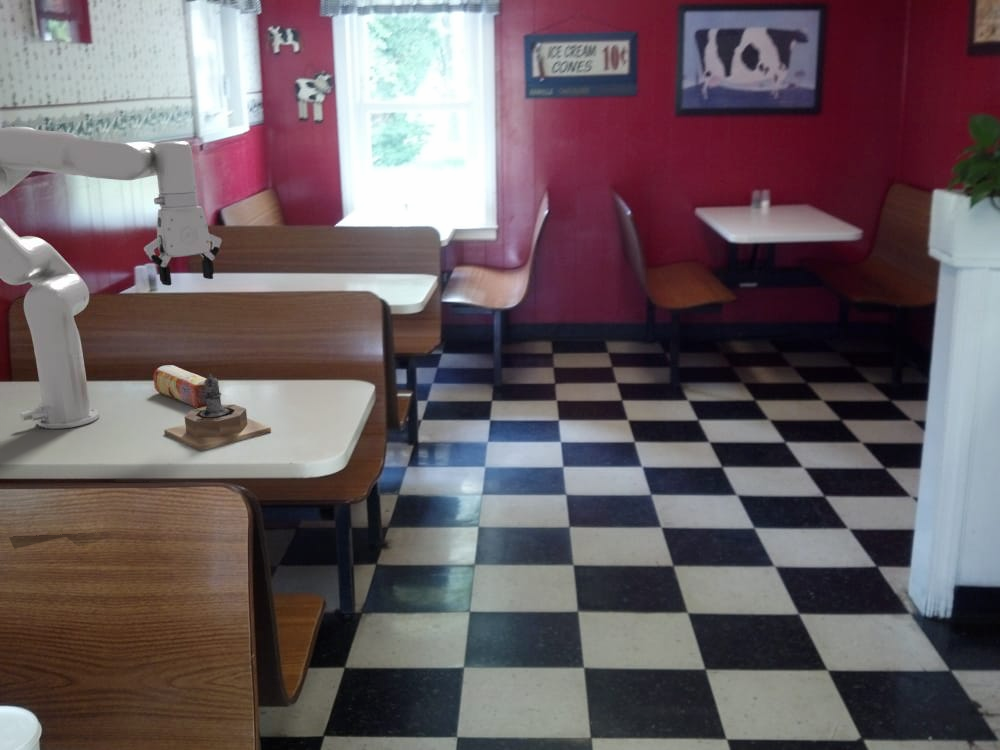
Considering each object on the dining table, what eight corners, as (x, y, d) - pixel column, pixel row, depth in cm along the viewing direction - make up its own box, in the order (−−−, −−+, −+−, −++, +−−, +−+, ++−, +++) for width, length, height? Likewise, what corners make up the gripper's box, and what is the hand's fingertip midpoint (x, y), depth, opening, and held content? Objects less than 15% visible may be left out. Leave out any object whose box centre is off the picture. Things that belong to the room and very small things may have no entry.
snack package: (221, 405, 236) (218, 376, 234) (195, 411, 231) (191, 382, 229) (179, 388, 251) (176, 362, 249) (153, 394, 246) (150, 367, 244)
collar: (201, 450, 203) (198, 429, 202) (164, 434, 214) (162, 413, 213) (271, 431, 214) (269, 411, 213) (232, 417, 225) (230, 397, 224)
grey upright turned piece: (234, 423, 216) (228, 369, 213) (225, 432, 211) (218, 377, 208) (208, 424, 217) (201, 370, 214) (197, 433, 211) (191, 377, 208)
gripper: (147, 206, 206) (157, 289, 210) (224, 198, 217) (232, 277, 222) (131, 204, 211) (141, 285, 216) (207, 197, 223) (215, 274, 227)
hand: (187, 281), depth 219 cm, fingers open, 9 cm apart
